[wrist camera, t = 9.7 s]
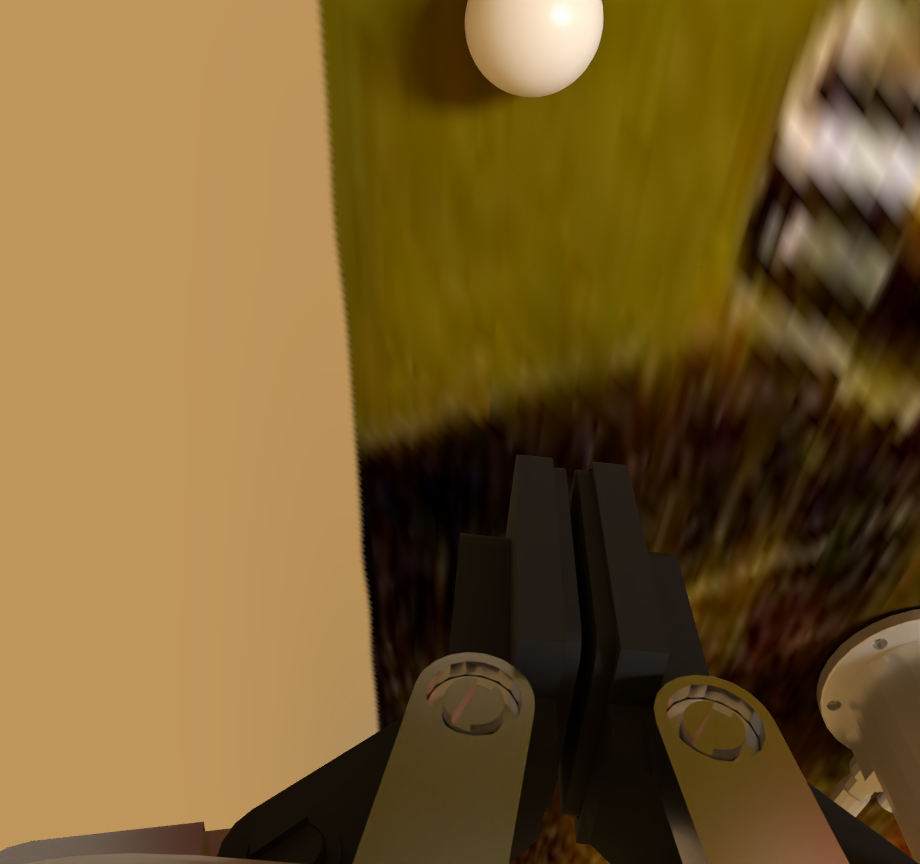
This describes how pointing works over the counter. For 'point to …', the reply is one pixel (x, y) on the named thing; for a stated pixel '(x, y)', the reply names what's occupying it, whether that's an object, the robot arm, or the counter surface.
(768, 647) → the counter surface
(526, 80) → the cue ball
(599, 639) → the robot arm
